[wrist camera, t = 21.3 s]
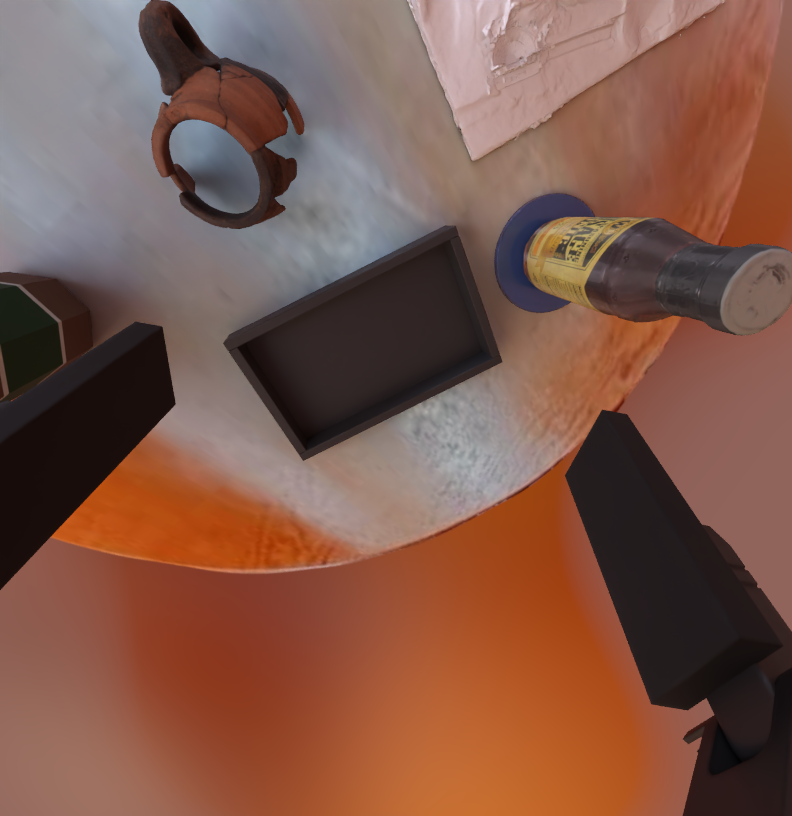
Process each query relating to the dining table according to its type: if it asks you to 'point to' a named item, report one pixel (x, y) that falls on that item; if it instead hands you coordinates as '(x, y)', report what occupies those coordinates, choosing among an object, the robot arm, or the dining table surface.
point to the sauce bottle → (659, 272)
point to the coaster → (513, 248)
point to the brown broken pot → (217, 111)
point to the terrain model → (535, 54)
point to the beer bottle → (38, 331)
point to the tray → (369, 344)
